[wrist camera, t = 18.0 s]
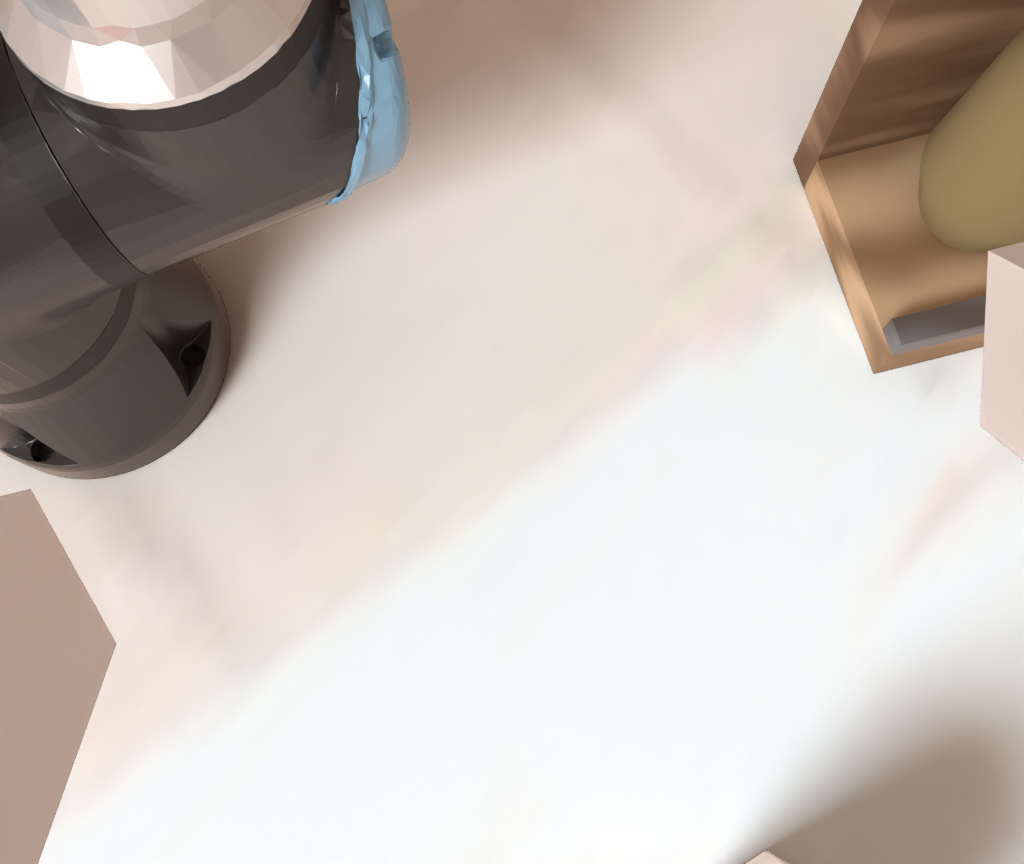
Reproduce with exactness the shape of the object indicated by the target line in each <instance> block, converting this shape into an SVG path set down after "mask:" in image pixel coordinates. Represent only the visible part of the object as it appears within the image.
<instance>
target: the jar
mask: <svg viewBox="0 0 1024 864" xmlns="http://www.w3.org/2000/svg"><path fill="white" fill-rule="evenodd" d="M745 864H789V863H787V862H786V861H784V860H782V859H781V858H779V857H777V856H776V855H774V854H772V853H770V852H768V851H764V852H762V853H761V854H759V855H758V856H756V857H754V858H753V859H751V860H750V861H748V862H747V863H745Z"/></svg>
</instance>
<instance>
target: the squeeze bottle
mask: <svg viewBox="0 0 1024 864" xmlns="http://www.w3.org/2000/svg"><path fill="white" fill-rule="evenodd" d="M918 197H919V207H920V215H921V216H922V218H923V220H924V221H925V223H926V225H927V227H928V228H929V230H930V232H931V233H933V234H934V235H935V236H936V237H938V238H939V239H940V240H941V241H943V242H944V243H945V244H946V245H948V246H951V247H954V248H956V249H959V250H962V251H965V252H968V253H988V251H989V250H993V249H997V248H1001V247H1005V246H1009V245H1013V244H1017V243H1021V242H1024V28H1023V29H1022V30H1021V31H1020V32H1019V33H1018V34H1017V35H1016V36H1015V37H1014V38H1013V40H1012V41H1011V42H1010V43H1009V44H1008V45H1007V46H1006V48H1005V49H1004V50H1003V51H1002V52H1001V53H1000V54H999V55H998V57H997V58H996V59H995V60H994V61H993V62H992V63H991V64H990V66H989V67H988V68H987V69H986V70H985V71H984V72H983V74H982V75H981V76H980V77H979V78H978V79H977V80H976V81H975V83H974V84H973V85H972V86H971V87H970V88H969V89H968V91H967V92H966V93H965V94H964V95H963V96H962V97H961V98H960V100H959V101H958V102H957V103H956V104H955V105H954V106H953V107H952V109H951V110H950V111H949V112H948V113H947V114H946V115H945V117H944V118H943V119H942V120H941V121H940V122H939V123H938V124H937V126H936V127H935V128H934V129H933V130H932V131H931V132H930V135H929V137H928V140H927V143H926V145H925V148H924V151H923V154H922V156H921V165H920V179H919V192H918Z"/></svg>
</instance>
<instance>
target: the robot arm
mask: <svg viewBox="0 0 1024 864" xmlns="http://www.w3.org/2000/svg"><path fill="white" fill-rule="evenodd" d="M391 35H392V31H391V21H390V17H389V13H388V9H387V5H386V2H385V0H0V451H1V452H2V453H4V454H5V455H7V456H9V457H10V458H12V459H14V460H16V461H19V462H21V463H23V464H25V465H28V466H30V467H32V468H35V469H37V470H39V471H42V472H45V473H47V474H51V475H55V476H59V477H64V478H72V479H98V478H106V477H111V476H116V475H120V474H124V473H127V472H130V471H133V470H136V469H138V468H140V467H143V466H145V465H147V464H149V463H151V462H153V461H155V460H156V459H158V458H160V457H162V456H163V455H165V454H166V453H168V452H169V451H170V450H172V449H173V448H174V447H176V446H177V445H178V444H179V443H180V442H182V441H183V440H184V439H185V438H186V437H187V436H188V435H189V434H190V433H191V432H192V431H193V430H194V429H195V428H196V426H197V425H198V424H199V423H200V422H201V420H202V419H203V418H204V416H205V415H206V413H207V412H208V410H209V409H210V407H211V406H212V404H213V402H214V400H215V398H216V396H217V394H218V392H219V390H220V388H221V385H222V382H223V380H224V376H225V373H226V369H227V365H228V360H229V352H230V330H229V322H228V317H227V313H226V309H225V306H224V303H223V301H222V298H221V296H220V294H219V292H218V290H217V288H216V287H215V285H214V283H213V282H212V280H211V279H210V277H209V276H208V275H207V274H206V273H205V271H204V270H203V269H202V268H201V267H200V266H199V264H198V263H197V262H196V261H195V260H194V258H195V257H197V256H200V255H202V254H204V253H207V252H209V251H212V250H214V249H216V248H219V247H221V246H223V245H226V244H228V243H231V242H233V241H235V240H238V239H240V238H242V237H245V236H247V235H250V234H252V233H254V232H257V231H259V230H262V229H264V228H267V227H269V226H272V225H274V224H277V223H279V222H282V221H284V220H287V219H289V218H292V217H294V216H297V215H299V214H302V213H304V212H307V211H309V210H311V209H314V208H316V207H319V206H321V205H324V204H327V205H330V204H333V203H336V202H340V201H341V200H344V199H345V198H347V197H348V196H349V195H350V194H351V192H352V191H353V190H355V189H357V188H359V187H361V186H363V185H365V184H367V183H369V182H371V181H373V180H375V179H377V178H379V177H381V176H383V175H385V174H387V173H389V172H390V171H391V170H392V169H393V168H394V167H396V166H397V164H398V163H399V162H400V160H401V159H402V157H403V155H404V153H405V150H406V147H407V144H408V139H409V128H410V113H409V102H408V95H407V87H406V81H405V76H404V70H403V66H402V61H401V58H400V54H399V51H398V49H397V47H396V45H395V43H394V41H393V40H392V38H391ZM980 426H981V427H982V428H983V429H984V430H986V431H987V432H988V433H989V434H991V435H992V436H993V437H994V438H995V439H997V440H998V441H999V442H1000V443H1002V444H1003V445H1004V446H1005V447H1007V448H1008V449H1009V450H1010V451H1012V452H1013V453H1014V454H1015V455H1017V456H1018V457H1019V458H1020V459H1021V460H1023V461H1024V242H1021V243H1017V244H1013V245H1009V246H1005V247H1001V248H997V249H993V250H989V251H988V265H987V286H986V308H985V329H984V350H983V372H982V393H981V415H980ZM115 646H116V642H115V640H114V639H113V637H112V635H111V633H110V631H109V630H108V628H107V626H106V624H105V622H104V621H103V619H102V617H101V615H100V613H99V612H98V610H97V608H96V606H95V604H94V602H93V601H92V599H91V597H90V595H89V593H88V592H87V590H86V588H85V586H84V584H83V583H82V581H81V579H80V577H79V575H78V574H77V572H76V570H75V568H74V566H73V565H72V563H71V561H70V559H69V557H68V556H67V554H66V552H65V550H64V548H63V546H62V545H61V543H60V541H59V539H58V537H57V536H56V534H55V532H54V530H53V528H52V527H51V525H50V523H49V521H48V519H47V518H46V516H45V514H44V512H43V510H42V509H41V507H40V505H39V503H38V501H37V499H36V498H35V496H34V494H33V492H32V490H31V489H28V490H24V491H20V492H16V493H12V494H8V495H4V496H0V864H38V862H39V859H40V856H41V854H42V851H43V848H44V845H45V842H46V840H47V837H48V834H49V831H50V828H51V826H52V823H53V820H54V817H55V814H56V812H57V809H58V806H59V803H60V800H61V798H62V795H63V792H64V789H65V786H66V783H67V781H68V778H69V775H70V772H71V769H72V767H73V764H74V761H75V758H76V755H77V753H78V750H79V747H80V744H81V741H82V739H83V736H84V733H85V730H86V727H87V725H88V722H89V719H90V716H91V713H92V711H93V708H94V705H95V702H96V699H97V697H98V694H99V691H100V688H101V685H102V683H103V680H104V677H105V674H106V671H107V669H108V666H109V663H110V660H111V657H112V654H113V652H114V649H115Z"/></svg>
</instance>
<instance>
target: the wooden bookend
mask: <svg viewBox="0 0 1024 864" xmlns="http://www.w3.org/2000/svg"><path fill="white" fill-rule="evenodd" d="M1023 28H1024V0H862V3H861V5H860V7H859V10H858V12H857V14H856V16H855V19H854V21H853V23H852V26H851V28H850V30H849V33H848V35H847V37H846V39H845V42H844V44H843V46H842V49H841V51H840V53H839V56H838V58H837V60H836V62H835V65H834V67H833V69H832V72H831V74H830V76H829V79H828V81H827V83H826V85H825V88H824V90H823V92H822V95H821V97H820V99H819V102H818V104H817V106H816V108H815V111H814V113H813V115H812V118H811V120H810V122H809V125H808V127H807V129H806V131H805V134H804V136H803V138H802V141H801V143H800V145H799V147H798V150H797V152H796V154H795V157H794V159H793V161H794V164H795V166H796V169H797V172H798V174H799V177H800V180H801V182H802V185H803V188H804V190H805V193H806V196H807V198H808V201H809V204H810V206H811V209H812V212H813V214H814V217H815V219H816V222H817V225H818V227H819V230H820V233H821V235H822V238H823V241H824V243H825V246H826V249H827V251H828V254H829V257H830V259H831V262H832V265H833V267H834V270H835V273H836V275H837V278H838V281H839V283H840V286H841V289H842V291H843V294H844V297H845V299H846V302H847V305H848V307H849V310H850V312H851V315H852V318H853V320H854V323H855V326H856V328H857V331H858V334H859V336H860V339H861V342H862V344H863V347H864V350H865V352H866V355H867V358H868V360H869V363H870V366H871V368H872V371H873V374H876V373H880V372H884V371H888V370H892V369H896V368H900V367H904V366H908V365H912V364H916V363H920V362H924V361H928V360H932V359H936V358H940V357H944V356H948V355H952V354H956V353H960V352H964V351H968V350H972V349H976V348H980V347H984V329H985V308H986V286H987V265H988V253H968V252H965V251H962V250H959V249H956V248H954V247H951V246H948V245H946V244H945V243H944V242H943V241H941V240H940V239H939V238H938V237H936V236H935V235H934V234H933V233H931V232H930V230H929V228H928V227H927V225H926V223H925V221H924V220H923V218H922V216H921V215H920V207H919V197H918V192H919V179H920V165H921V156H922V154H923V151H924V148H925V145H926V143H927V140H928V137H929V135H930V132H931V131H932V130H933V129H934V128H935V127H936V126H937V124H938V123H939V122H940V121H941V120H942V119H943V118H944V117H945V115H946V114H947V113H948V112H949V111H950V110H951V109H952V107H953V106H954V105H955V104H956V103H957V102H958V101H959V100H960V98H961V97H962V96H963V95H964V94H965V93H966V92H967V91H968V89H969V88H970V87H971V86H972V85H973V84H974V83H975V81H976V80H977V79H978V78H979V77H980V76H981V75H982V74H983V72H984V71H985V70H986V69H987V68H988V67H989V66H990V64H991V63H992V62H993V61H994V60H995V59H996V58H997V57H998V55H999V54H1000V53H1001V52H1002V51H1003V50H1004V49H1005V48H1006V46H1007V45H1008V44H1009V43H1010V42H1011V41H1012V40H1013V38H1014V37H1015V36H1016V35H1017V34H1018V33H1019V32H1020V31H1021V30H1022V29H1023Z"/></svg>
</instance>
